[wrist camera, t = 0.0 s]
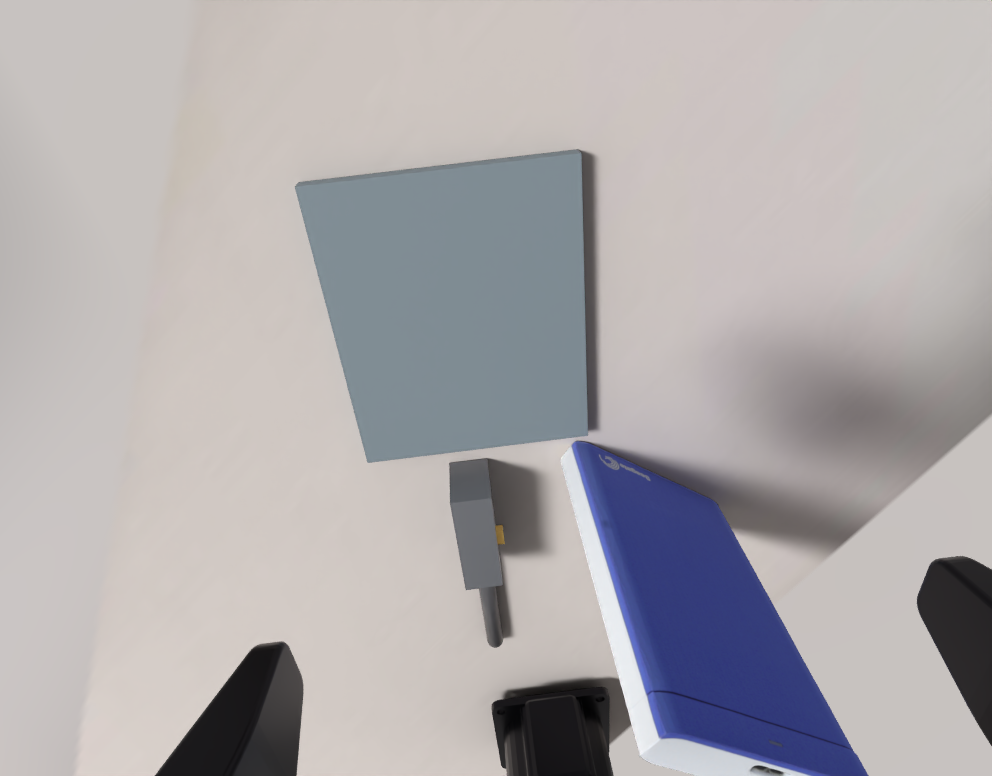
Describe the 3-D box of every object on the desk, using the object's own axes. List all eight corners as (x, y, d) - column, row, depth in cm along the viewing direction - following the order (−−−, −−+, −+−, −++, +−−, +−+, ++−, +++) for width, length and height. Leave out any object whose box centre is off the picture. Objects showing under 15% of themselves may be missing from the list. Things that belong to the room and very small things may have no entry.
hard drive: (577, 436, 26) (670, 729, 15) (721, 502, 29) (886, 791, 18) (556, 462, 27) (632, 761, 16) (699, 525, 29) (846, 816, 19)
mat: (584, 427, 26) (587, 435, 25) (369, 453, 26) (367, 462, 25) (577, 149, 20) (581, 153, 19) (298, 182, 20) (294, 186, 19)
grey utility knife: (516, 634, 32) (521, 678, 30) (480, 639, 32) (483, 683, 30) (494, 457, 26) (498, 497, 24) (449, 463, 26) (450, 503, 24)
